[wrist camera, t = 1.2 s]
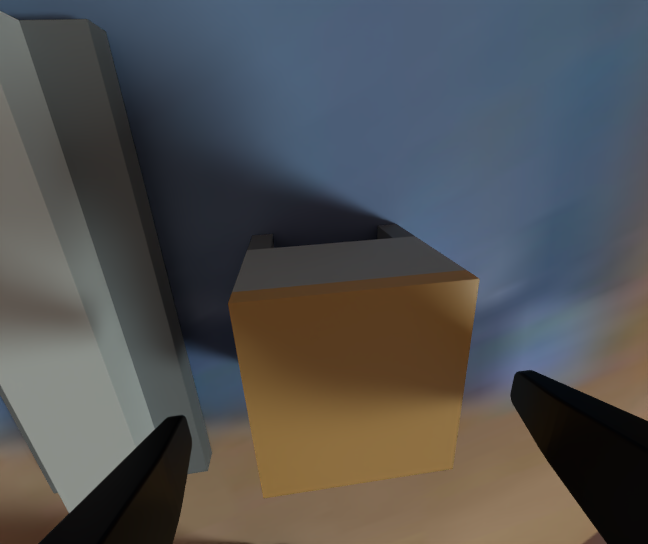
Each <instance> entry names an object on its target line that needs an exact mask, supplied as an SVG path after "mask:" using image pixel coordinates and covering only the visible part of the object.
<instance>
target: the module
mask: <svg viewBox="0 0 648 544" xmlns="http://www.w3.org/2000/svg"><path fill="white" fill-rule="evenodd" d="M478 286H479V278H478V277H476V276H475V275H473V274H472V273H470V272H468V271H467V270H465V269H464V268H462V267H461V266H459V265H458V264H456V263H455V262H453V261H452V260H450V259H449V258H447V257H446V256H444V255H443V254H441V253H440V252H438V251H437V250H435V249H434V248H432V247H430V246H429V245H427V244H426V243H424V242H423V241H421V240H420V239H418V238H417V237H415V236H414V235H412V234H411V233H409V232H408V231H406V230H405V229H403V228H402V227H400V226H399V225H397V224H391V225H378V231H377V239H376V240H364V241H352V242H340V243H328V244H316V245H304V246H292V247H280V248H274V241H273V234H264V235H252V238H251V241H250V244H249V246H248V249H247V252H246V255H245V257H244V260H243V263H242V266H241V269H240V271H239V274H238V277H237V280H236V282H235V285H234V288H233V291H232V294H231V296H230V299H229V302H228V307H229V312H230V318H231V323H232V329H233V334H234V340H235V345H236V351H237V356H238V362H239V367H240V372H241V378H242V383H243V389H244V394H245V400H246V405H247V411H248V416H249V422H250V427H251V433H252V438H253V444H254V449H255V455H256V460H257V466H258V471H259V477H260V482H261V488H262V493H263V498H269V497H276V496H282V495H289V494H295V493H301V492H308V491H314V490H321V489H327V488H333V487H340V486H346V485H353V484H359V483H365V482H372V481H378V480H385V479H391V478H397V477H404V476H410V475H417V474H423V473H429V472H436V471H442V470H449V469H453V463H454V456H455V449H456V441H457V434H458V427H459V420H460V413H461V406H462V399H463V392H464V385H465V378H466V371H467V364H468V357H469V350H470V343H471V336H472V329H473V321H474V314H475V307H476V300H477V293H478Z"/></svg>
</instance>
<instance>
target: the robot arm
mask: <svg viewBox="0 0 648 544" xmlns="http://www.w3.org/2000/svg"><path fill="white" fill-rule="evenodd" d="M511 401H512V403H513V405H514V407H515V408H516V410H517V412H518V413H519V415H520V417H521V418H522V420H523V422H524V423H525V425H526V427H527V428H528V430H529V432H530V434H531V435H532V437H533V439H534V440H535V442H536V444H537V445H538V447H539V449H540V450H541V452H542V453H543V455H544V456H545V458H546V459H547V461H548V462H549V464H550V465H551V467H552V468H553V469H554V471H555V472H556V474H557V475H558V476H559V478H560V479H561V480H562V482H563V483H564V485H565V486H566V487H567V489H568V490H569V492H570V493H571V494H572V496H573V497H574V499H575V500H576V501H577V503H578V504H579V505H580V507H581V508H582V510H583V511H584V512H585V514H586V515H587V517H588V518H589V519H590V521H591V522H592V524H593V525H594V526H595V528H596V529H597V530H598V532H599V533H600V535H601V536H602V537H603V538H604V540H605V541H606V543H607V544H648V421H646V420H644V419H642V418H639V417H637V416H635V415H633V414H630V413H628V412H626V411H624V410H621V409H619V408H617V407H614V406H612V405H610V404H608V403H605V402H603V401H601V400H599V399H596V398H594V397H592V396H589V395H587V394H585V393H583V392H580V391H578V390H576V389H573V388H571V387H569V386H567V385H564V384H562V383H560V382H558V381H555V380H553V379H551V378H548V377H546V376H544V375H542V374H539V373H537V372H535V371H532V370H526V371H519V372H517V373H516V374H515V375H514V380H513V384H512V389H511ZM191 450H192V437H191V433H190V430H189V426H188V422H187V419H186V417H185V416H184V415H177V416H170V417H167V418H166V419H165V420H163V421H162V422H161V423H160V424H159V425H158V426H157V427H156V428H155V429H154V430H153V431H152V432H151V433H150V434H149V435H148V436H147V437H146V438H145V439H144V440H143V441H142V442H141V443H140V444H139V445H138V446H137V447H136V448H135V449H134V450H133V451H132V452H131V453H130V454H129V455H128V456H127V457H126V458H125V459H124V460H123V461H122V462H121V463H120V464H119V465H118V466H117V467H116V468H115V469H114V470H113V471H112V472H111V473H110V474H109V475H108V476H107V477H106V478H105V479H104V480H103V481H102V482H100V483H99V484H98V485H97V486H96V487H95V488H94V489H93V490H92V491H91V492H90V493H89V494H88V495H87V496H86V497H85V498H84V499H83V500H82V501H81V502H80V503H79V504H78V505H77V506H76V507H75V508H74V509H73V510H72V511H71V512H70V513H69V514H68V515H67V516H66V517H65V518H64V519H63V520H62V521H61V522H60V523H59V524H58V525H57V526H56V527H55V528H54V529H53V530H52V531H51V532H50V533H49V534H48V535H47V536H46V537H45V538H44V539H43V540H42V541H41V542H40V543H39V544H173V540H174V536H175V533H176V529H177V525H178V521H179V517H180V513H181V508H182V503H183V497H184V491H185V485H186V479H187V474H188V468H189V462H190V456H191Z"/></svg>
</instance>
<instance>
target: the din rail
mask: <svg viewBox="0 0 648 544" xmlns="http://www.w3.org/2000/svg"><path fill="white" fill-rule="evenodd" d="M0 395H1V397H2V399H3V401H4V403H5V405H6V406H7V408H8V410H9V412H10V414H11V416H12V417H13V419H14V421H15V423H16V425H17V427H18V428H19V430H20V432H21V434H22V436H23V438H24V439H25V441H26V443H27V445H28V447H29V449H30V450H31V452H32V454H33V456H34V458H35V460H36V461H37V463H38V465H39V467H40V469H41V471H42V473H43V474H44V476H45V478H46V480H47V482H48V484H49V485H50V487H51V489H52V491H53V493H59V495H60V497H61V499H62V501H63V503H64V505H65V506H66V508H67V510H68V512H69V513H70V512H71V511H72V510H73V509H74V508H75V507H76V506H77V505H78V504H79V503H80V502H81V501H82V500H83V499H84V498H85V497H86V496H87V495H88V494H89V493H90V492H91V491H92V490H93V489H94V488H95V487H96V486H97V485H98V484H99V483H100V482H102V481H103V480H104V479H105V478H106V477H107V476H108V475H109V474H110V473H111V472H112V471H113V470H114V469H115V468H116V467H117V466H118V465H119V464H120V463H121V462H122V461H123V460H124V459H125V458H126V457H127V456H128V455H129V454H130V453H131V452H132V451H133V450H134V449H135V448H136V447H137V446H138V445H139V444H140V443H141V442H142V441H143V440H144V439H145V438H146V437H147V436H148V435H149V434H150V433H151V432H152V431H153V430H154V429H155V428H156V427H157V426H158V425H159V424H160V423H161V422H162V421H163V420H165V419H166V418H167V417H170V416H177V415H184V416H185V417H186V419H187V422H188V426H189V430H190V433H191V437H192V450H191V456H190V462H189V468H188V474H190V473H197V472H204V471H208V467H209V463H210V459H211V455H212V451H211V447H210V443H209V439H208V435H207V431H206V427H205V423H204V419H203V415H202V411H201V407H200V403H199V399H198V395H197V391H196V387H195V383H194V379H193V375H192V372H191V368H190V364H189V360H188V356H187V352H186V348H185V344H184V340H183V336H182V332H181V328H180V324H179V320H178V316H177V312H176V308H175V304H174V300H173V296H172V292H171V288H170V284H169V280H168V276H167V272H166V268H165V264H164V261H163V257H162V253H161V249H160V245H159V241H158V237H157V233H156V229H155V225H154V221H153V217H152V213H151V209H150V205H149V201H148V197H147V193H146V189H145V185H144V181H143V177H142V173H141V169H140V165H139V161H138V157H137V154H136V150H135V146H134V142H133V138H132V134H131V130H130V126H129V122H128V118H127V114H126V110H125V106H124V102H123V98H122V94H121V90H120V86H119V82H118V78H117V74H116V70H115V66H114V62H113V58H112V54H111V50H110V46H109V43H108V39H107V35H106V31H104V30H103V29H101V28H100V27H98V26H97V25H95V24H94V23H92V22H91V21H89V20H87V19H65V20H17V19H15V18H13V17H11V16H9V15H7V14H5V13H3V12H1V11H0Z"/></svg>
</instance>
